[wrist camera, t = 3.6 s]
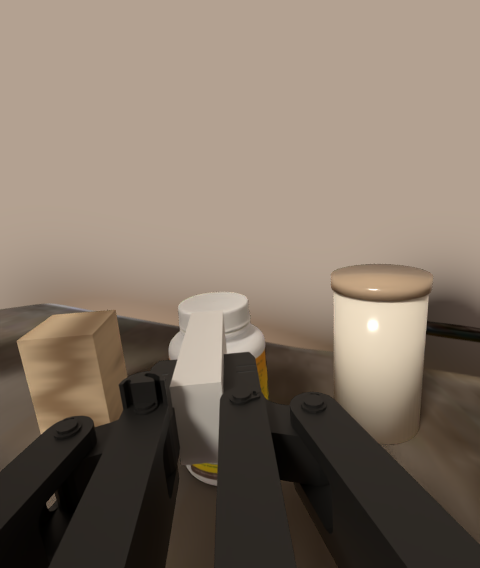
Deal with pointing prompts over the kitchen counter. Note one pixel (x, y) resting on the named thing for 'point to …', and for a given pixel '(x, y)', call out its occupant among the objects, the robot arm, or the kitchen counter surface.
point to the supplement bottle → (237, 340)
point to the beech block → (75, 367)
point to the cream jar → (381, 346)
